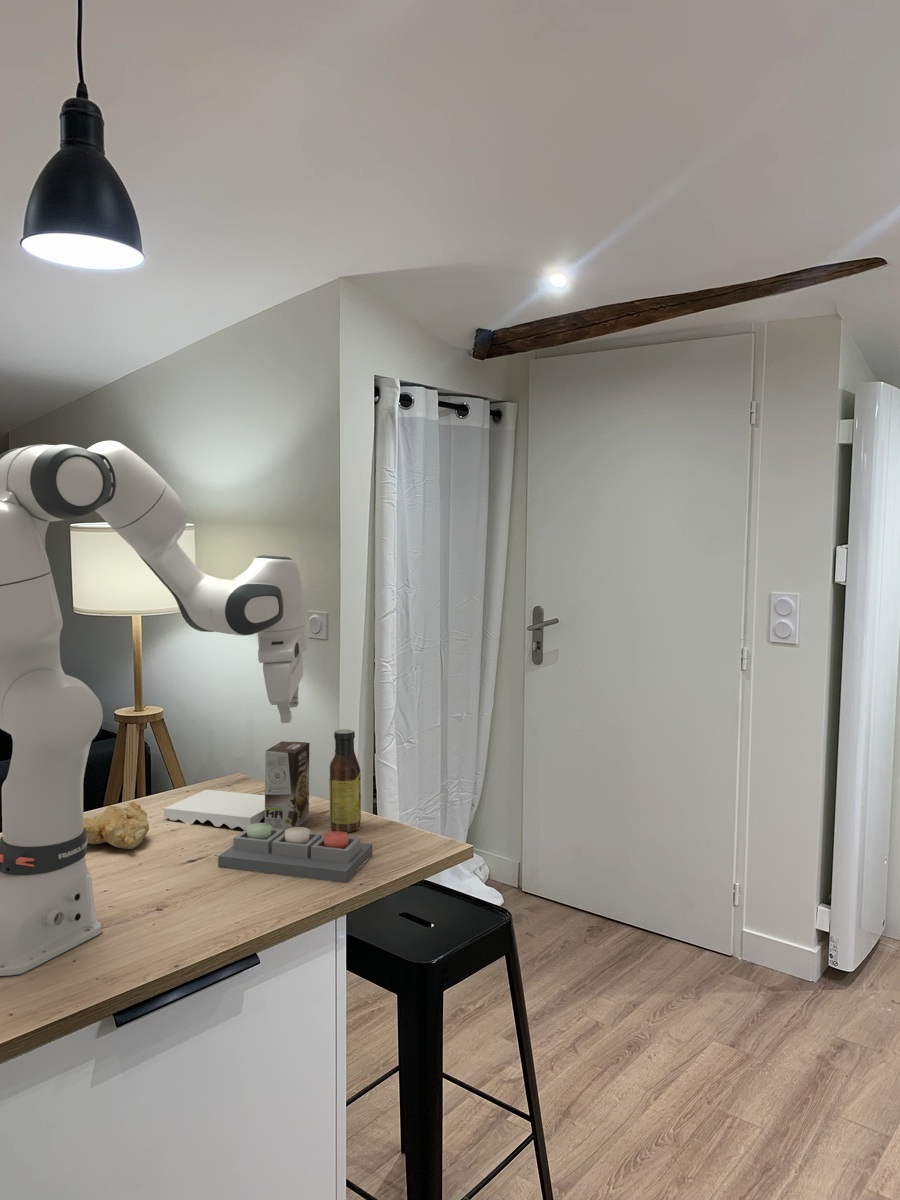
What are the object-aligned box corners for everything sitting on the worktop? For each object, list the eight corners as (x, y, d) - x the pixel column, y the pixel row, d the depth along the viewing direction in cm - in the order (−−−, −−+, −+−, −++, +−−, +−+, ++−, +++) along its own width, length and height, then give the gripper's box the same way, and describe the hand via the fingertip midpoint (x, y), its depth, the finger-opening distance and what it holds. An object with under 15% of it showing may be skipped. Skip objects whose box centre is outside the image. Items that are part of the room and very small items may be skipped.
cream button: (303, 848, 164) (303, 836, 164) (280, 845, 165) (280, 833, 165) (313, 840, 168) (313, 828, 168) (290, 837, 169) (291, 826, 169)
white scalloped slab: (164, 824, 187) (250, 834, 181) (163, 808, 187) (250, 817, 181) (206, 804, 201) (287, 813, 195) (206, 789, 201) (287, 797, 195)
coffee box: (294, 832, 182) (294, 752, 180) (263, 830, 183) (263, 750, 181) (310, 818, 190) (310, 741, 189) (280, 815, 192) (281, 739, 190)
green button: (264, 843, 166) (265, 831, 166) (242, 841, 167) (242, 829, 167) (275, 835, 170) (275, 824, 170) (253, 833, 171) (253, 821, 171)
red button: (343, 852, 162) (343, 840, 162) (319, 850, 163) (320, 838, 163) (351, 844, 166) (352, 832, 166) (329, 842, 167) (329, 830, 167)
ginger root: (111, 858, 162) (105, 813, 163) (55, 862, 170) (49, 818, 171) (179, 836, 176) (172, 794, 177) (123, 840, 184) (117, 800, 184)
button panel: (345, 882, 157) (345, 858, 157) (218, 866, 163) (218, 843, 163) (372, 854, 171) (372, 832, 170) (253, 840, 177) (253, 819, 176)
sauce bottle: (366, 830, 184) (367, 732, 182) (338, 836, 180) (339, 736, 179) (350, 821, 189) (352, 726, 187) (323, 826, 186) (324, 729, 184)
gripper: (274, 630, 179) (281, 699, 182) (255, 656, 159) (264, 732, 162) (307, 628, 179) (313, 696, 182) (292, 653, 159) (300, 730, 162)
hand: (290, 713), depth 172 cm, fingers open, 8 cm apart
